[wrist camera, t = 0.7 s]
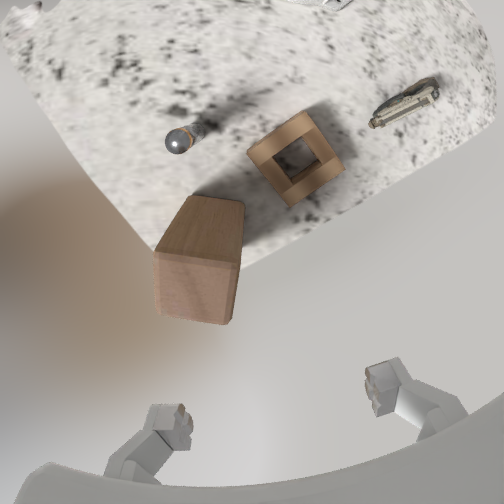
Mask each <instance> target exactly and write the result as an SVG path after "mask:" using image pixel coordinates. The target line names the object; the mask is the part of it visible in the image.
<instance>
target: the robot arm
mask: <svg viewBox="0 0 504 504" xmlns="http://www.w3.org/2000/svg"><path fill="white" fill-rule="evenodd" d="M287 1H290V2H294V3H299V4H308V5H319V6H321V7H324V8H326V9H329V10H332V11H338V10H340V9H341V8H343V7H344V6H345V5H347V4H348V3H349V2H350V1H352V0H340V2H337V0H287ZM365 375H366V377H367V378H366V380H365V388H366V393H367V396H368V398H369V399H370V400H371V401H372V408H373V410H374V413H375V415H376V417H379V416H382V415H385V414H388V413H391V412H395V413H396V414H398V415H400V416H401V417H403V418H404V419H406V420H407V421H409V422H410V423H412V424H413V425H415V426H417V427H418V428H420V429H421V432H420V434H419V436H418V439H417V441H416V443H415V444H412V445H410V446H408V447H405V448H403V449H400V450H398V451H396V452H393V453H390V454H387V455H385V456H382V457H379V458H376V459H373V460H370V461H367V462H364V463H361V464H358V465H354V466H351V467H347V468H344V469H340V470H336V471H332V472H328V473H324V474H319V475H315V476H310V477H305V478H300V479H294V480H288V481H281V482H274V483H266V484H257V485H246V486H227V487H186V486H168V485H162V484H161V483H160V482H159V481H158V480H157V479H155V478H154V475H155V474H156V473H157V472H158V471H159V469H160V468H161V467H162V466H163V464H164V463H165V462H166V461H167V459H168V458H169V457H170V456H171V454H172V453H173V451H185V450H190V447H191V440H192V439H191V438H190V436H189V435H190V434H191V433H192V432H193V420H192V417H191V416H190V414H189V413H187V412H185V407H184V405H183V404H152V405H151V406H150V408H149V411H148V414H147V417H146V421H145V424H144V427H143V430H140V431H139V432H137V433H136V434H135V435H134V436H133V437H132V438H131V439H130V440H129V441H127V442H126V443H125V444H124V445H123V446H122V447H121V448H119V449H118V450H117V451H116V452H115V453H114V454H112V455H111V456H110V458H109V460H108V464H107V467H106V469H105V472H104V475H103V476H100V475H96V474H91V473H87V472H83V471H80V470H76V469H72V468H69V467H66V466H63V465H59V464H56V463H53V462H49V463H46V464H45V465H43V466H41V467H40V468H38V469H37V470H35V471H34V472H33V473H31V474H30V475H29V476H28V477H27V478H26V480H25V482H24V483H23V485H22V487H21V489H20V491H19V493H18V495H17V497H16V500H15V502H14V504H504V392H503V393H502V394H501V395H499V396H498V397H496V398H495V399H494V400H492V401H491V402H489V403H488V404H486V405H485V406H483V407H482V408H480V409H478V410H477V411H475V412H474V413H472V414H470V415H468V413H467V412H466V410H465V408H464V407H463V406H462V404H461V402H460V401H459V399H458V398H457V397H456V396H454V395H452V394H449V393H447V392H444V391H442V390H439V389H437V388H435V387H433V386H430V385H428V384H425V383H423V382H421V381H419V380H413V379H412V378H411V376H410V375H409V373H408V371H407V370H406V368H405V366H404V365H403V364H402V362H401V360H400V359H399V358H398V357H395V358H393V359H390V360H387V361H384V362H381V363H378V364H375V365H372V366H369V367H367V368H366V369H365Z"/></svg>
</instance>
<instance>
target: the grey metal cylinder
mask: <svg viewBox="0 0 504 504" xmlns="http://www.w3.org/2000/svg"><path fill="white" fill-rule="evenodd" d="M204 134H205V131H204V128H203V127H202V126H201V125H200V124H197V123H193V124H190V125H187V126H184V127H181V128H177V129H174V130H172V131H170V132H169V133H168V134H167V136H166V139H165V145H166V148H167V149H168V151H170V152H171V153H173V154H182V153H184V152H186V151H187V150H188V149H189V148H191V147H192V146H193V145H195V144H196V143H198V142H199V141H201V140H202V139H203V137H204Z"/></svg>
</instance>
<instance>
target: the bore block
mask: <svg viewBox="0 0 504 504" xmlns="http://www.w3.org/2000/svg"><path fill="white" fill-rule="evenodd" d="M300 136H301V138H302V139H303V140H304V142H305V143H306V144H307V146H308V147H309V148H310V150H311V151H312V153H313V154H314V155H315V157H316V158H317V161H316V162H314V163H313V164H311V165H310V166H308V167H307V168H305V169H304V170H303V171H301V172H300V173H298V174H297V175H296V176H294V177H293V178H291V179H290V178H289V176H288V175H287V174H286V173H285V171H284V170H283V169H282V167H281V166H280V165H279V164H278V162H277V161H276V160H275V158H274V157H273V156H274V155H275V154H276V153H278V152H279V151H281V150H282V149H283V148H285V147H286V146H288V145H289V144H290V143H292V142H293V141H295V140H296V139H297V138H299V137H300ZM247 155H248V157H249V158H250V159H251V160H252V161H253V163H254V164H255V165H256V166H257V168H258V169H259V170H260V171H261V172H262V174H263V175H264V176H265V177H266V179H267V180H268V181H269V182H270V184H271V185H272V186H273V187H274V189H275V190H276V191H277V192H278V194H279V195H280V196H281V198H282V199H283V200H284V201H285V203H286V204H287V205H288V207H289V208H290V207H292V206H293V205H295V204H296V203H298V202H299V201H300V200H302V199H303V198H305V197H306V196H308V195H309V194H311V193H312V192H313V191H315V190H316V189H318V188H319V187H321V186H322V185H324V184H325V183H327V182H328V181H329V180H331V179H332V178H334V177H335V176H337V175H338V174H340V173H341V172H343V171H344V170H346V169H345V167H344V166H343V164H342V163H341V161H340V160H339V158H338V157H337V155H336V154H335V152H334V151H333V149H332V148H331V146H330V145H329V143H328V142H327V140H326V139H325V137H324V136H323V135H322V133H321V132H320V130H319V129H318V128H317V126H316V125H315V123H314V122H313V121H312V119H311V118H310V117H309V115H308V114H307V113H306V111H300V112H299V113H298V114H296V115H295V116H293V117H292V118H290V119H289V120H287V121H286V122H285V123H283V124H282V125H280V126H279V127H278V128H276V129H275V130H273V131H272V132H271V133H269V134H268V135H266V136H265V137H264V138H262V139H261V140H260V141H258V142H257V143H256V144H254V145H253V146H252V147H250V148H249V149H248V150H247Z"/></svg>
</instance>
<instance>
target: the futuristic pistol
mask: <svg viewBox="0 0 504 504" xmlns="http://www.w3.org/2000/svg"><path fill="white" fill-rule="evenodd" d="M438 88H439V85H438V83H437V81H436V80H435V78H434V77H432V78H427V79H426V78H425V79H422V80H420V81H419V82H417V83H415V84H414V85H412V86H411V87H409V88H408V89H406V90H405V91H404V92H403V93H401V94H400V95H398V96H394V97H392V98H391V99H389V100H388V101H386V102H385V103H383V104H382V105H381V106H379V107H378V109H377V110H376V111H375V112H374V113H373V117H374V118H372V119H370V121H369V123H368V125H369V127H370V128H373V129H375V127H378V126H380V128H383V127H385V126H387V125H389V124H391V123H393V122H395V121H397V120H399V119H401V118H403V117H405V116H407V115H409V114H411V113H413V112H415V111H417V110H419V109H421V108H422V107H426V106H428V105H430V104H432V103H434V102H435V101H436V100H437V99H438V98H439V95H440V94H439V91H438Z"/></svg>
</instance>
